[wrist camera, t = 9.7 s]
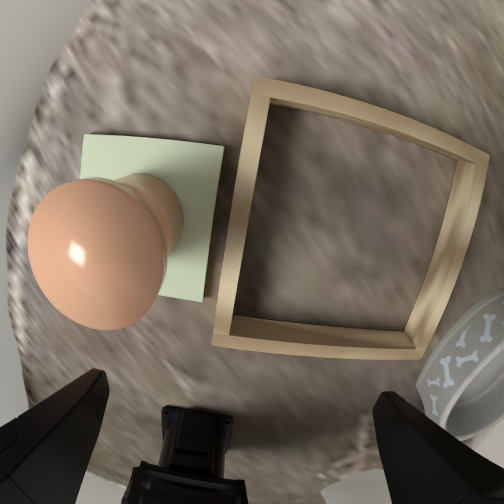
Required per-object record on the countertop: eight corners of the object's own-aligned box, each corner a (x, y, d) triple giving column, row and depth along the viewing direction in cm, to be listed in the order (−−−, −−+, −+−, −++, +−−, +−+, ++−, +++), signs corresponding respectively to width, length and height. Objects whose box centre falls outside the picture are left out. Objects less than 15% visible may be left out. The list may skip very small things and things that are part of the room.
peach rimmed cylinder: (186, 276, 19) (158, 343, 13) (94, 260, 19) (37, 312, 12) (198, 171, 17) (166, 189, 10) (96, 161, 17) (25, 176, 10)
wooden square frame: (408, 341, 23) (420, 359, 20) (214, 324, 21) (211, 345, 19) (468, 152, 17) (489, 155, 15) (253, 84, 16) (254, 76, 14)
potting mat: (203, 297, 21) (202, 302, 20) (84, 275, 20) (80, 279, 19) (224, 146, 17) (224, 146, 17) (88, 134, 17) (84, 134, 16)
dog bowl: (425, 435, 29) (439, 465, 24) (401, 350, 23) (427, 390, 18) (523, 364, 26) (543, 387, 21) (529, 255, 21) (564, 276, 16)
